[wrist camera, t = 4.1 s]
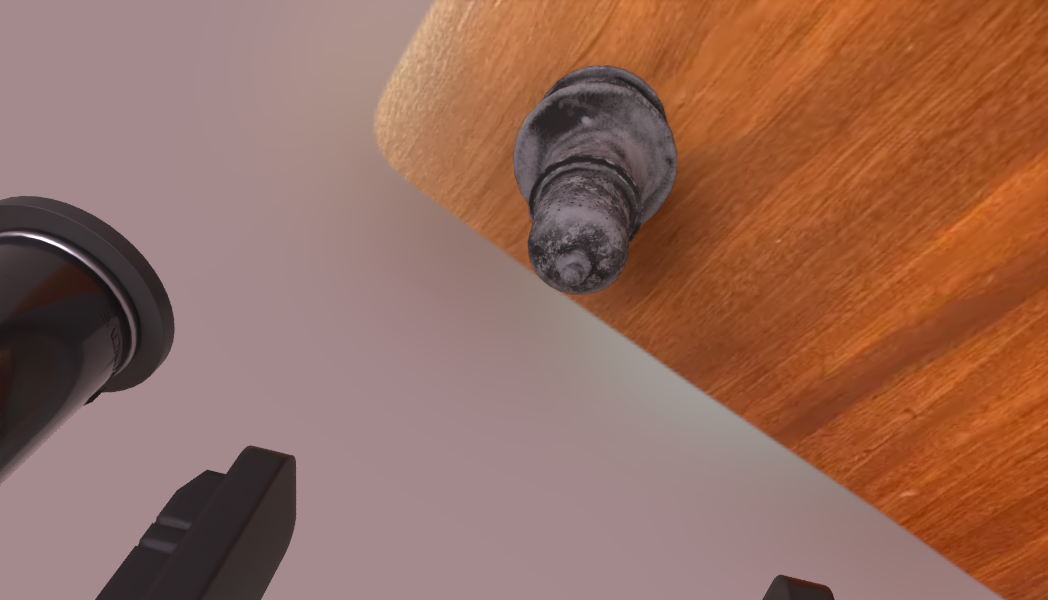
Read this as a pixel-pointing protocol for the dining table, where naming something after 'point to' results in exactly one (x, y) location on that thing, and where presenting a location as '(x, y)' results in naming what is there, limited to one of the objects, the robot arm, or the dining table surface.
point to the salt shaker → (592, 175)
